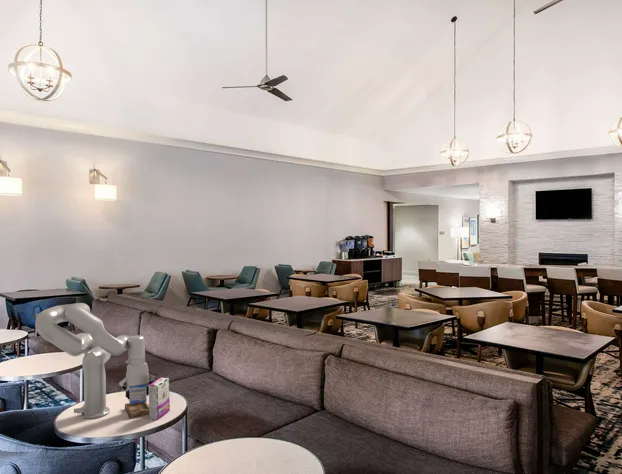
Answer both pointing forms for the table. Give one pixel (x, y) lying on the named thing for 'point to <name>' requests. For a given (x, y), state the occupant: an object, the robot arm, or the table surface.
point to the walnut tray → (137, 409)
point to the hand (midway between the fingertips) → (137, 396)
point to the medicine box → (137, 394)
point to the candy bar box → (159, 398)
